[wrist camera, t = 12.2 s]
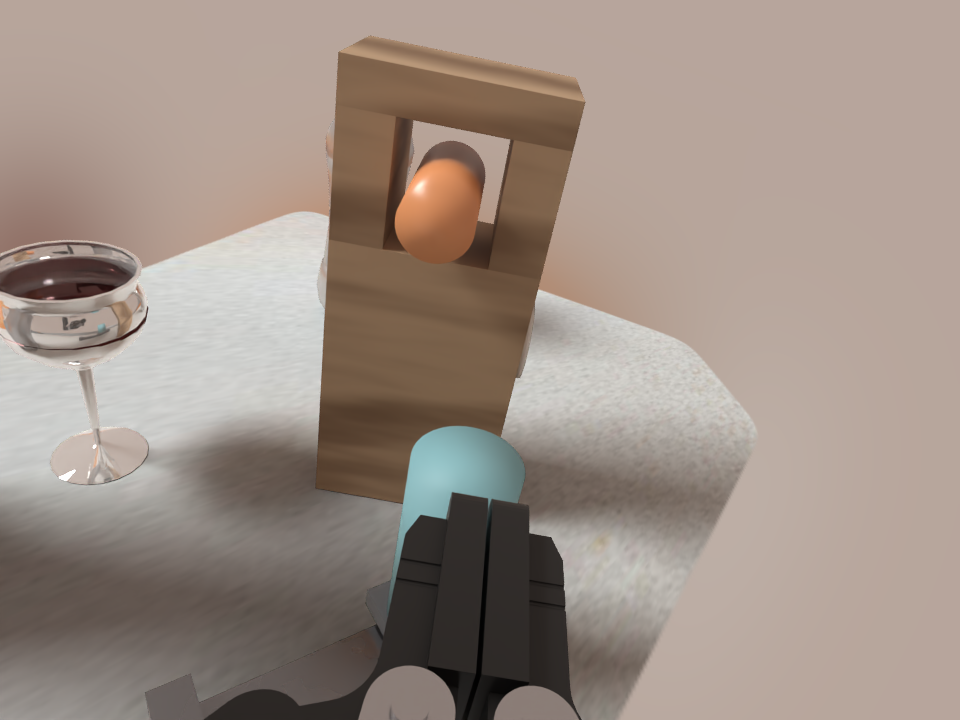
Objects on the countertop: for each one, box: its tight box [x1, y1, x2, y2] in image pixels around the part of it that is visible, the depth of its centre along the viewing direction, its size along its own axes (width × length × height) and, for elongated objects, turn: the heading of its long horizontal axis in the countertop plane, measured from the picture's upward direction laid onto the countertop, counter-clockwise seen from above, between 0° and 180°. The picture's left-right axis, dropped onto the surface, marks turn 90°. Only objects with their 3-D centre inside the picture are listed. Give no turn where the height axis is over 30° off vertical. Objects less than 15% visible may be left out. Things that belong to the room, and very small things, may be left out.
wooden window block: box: [316, 36, 585, 503], centre depth 34 cm, size 6×10×24 cm, turn 86°
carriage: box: [366, 426, 525, 636], centre depth 27 cm, size 5×5×10 cm
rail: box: [145, 625, 383, 720], centre depth 28 cm, size 4×16×3 cm, turn 123°
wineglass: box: [0, 240, 148, 485], centre depth 34 cm, size 7×7×12 cm
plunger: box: [395, 141, 485, 264], centre depth 28 cm, size 7×3×3 cm, turn 176°
